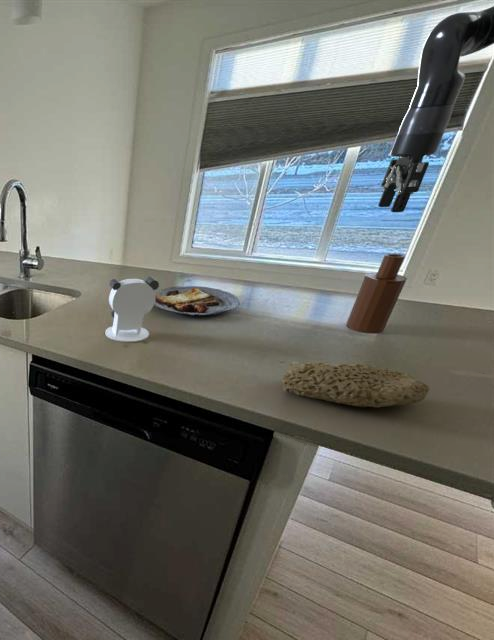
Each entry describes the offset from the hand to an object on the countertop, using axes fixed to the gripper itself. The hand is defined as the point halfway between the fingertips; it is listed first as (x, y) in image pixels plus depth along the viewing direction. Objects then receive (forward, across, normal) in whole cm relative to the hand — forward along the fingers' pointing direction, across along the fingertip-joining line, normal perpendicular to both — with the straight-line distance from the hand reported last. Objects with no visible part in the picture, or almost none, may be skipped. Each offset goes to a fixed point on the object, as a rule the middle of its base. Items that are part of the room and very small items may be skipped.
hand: (389, 209), depth 98 cm
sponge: (+26, -50, +12) cm, 58 cm away
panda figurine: (+27, -28, +55) cm, 67 cm away
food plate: (+27, -3, +39) cm, 48 cm away
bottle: (+26, -11, 0) cm, 29 cm away
